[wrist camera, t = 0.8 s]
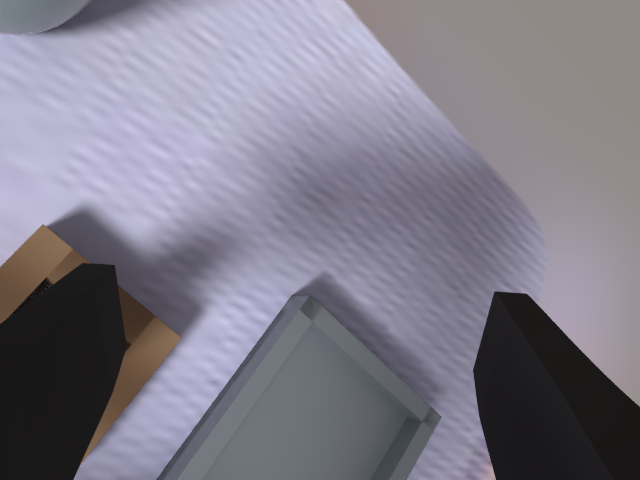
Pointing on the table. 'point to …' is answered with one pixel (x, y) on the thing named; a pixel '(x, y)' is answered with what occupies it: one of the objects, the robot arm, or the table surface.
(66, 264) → the socket
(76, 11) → the cup
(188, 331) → the table surface
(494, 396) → the robot arm
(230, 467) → the tray
